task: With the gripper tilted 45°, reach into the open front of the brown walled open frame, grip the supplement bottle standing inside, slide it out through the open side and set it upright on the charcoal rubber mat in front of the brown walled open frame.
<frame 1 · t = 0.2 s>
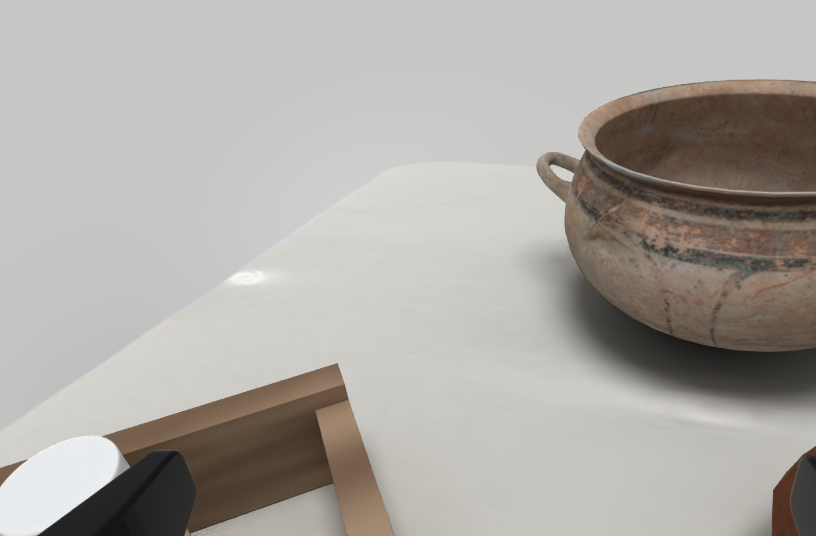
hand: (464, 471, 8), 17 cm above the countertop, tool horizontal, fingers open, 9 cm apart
cooking pot: (716, 312, 37), on the countertop
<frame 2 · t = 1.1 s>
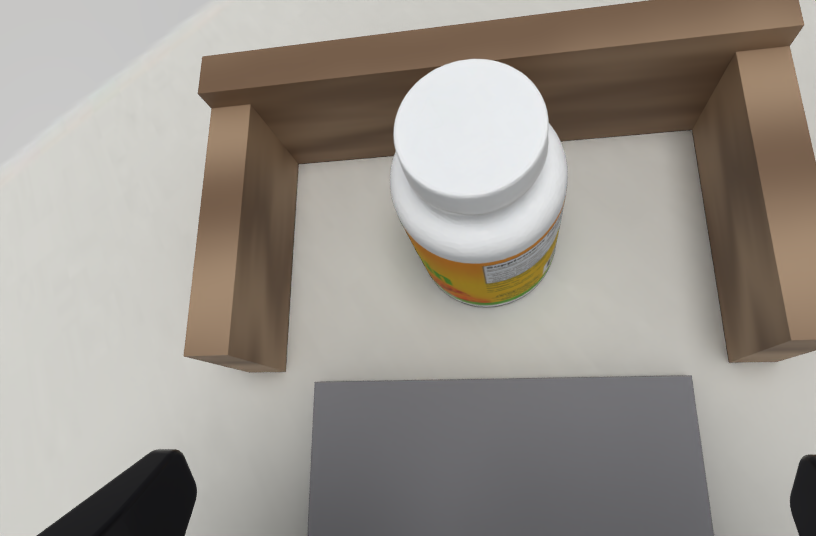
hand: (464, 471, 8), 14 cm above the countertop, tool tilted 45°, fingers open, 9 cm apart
supplement bottle: (487, 247, 24), on the countertop
brown walled open frame: (487, 245, 24), on the countertop
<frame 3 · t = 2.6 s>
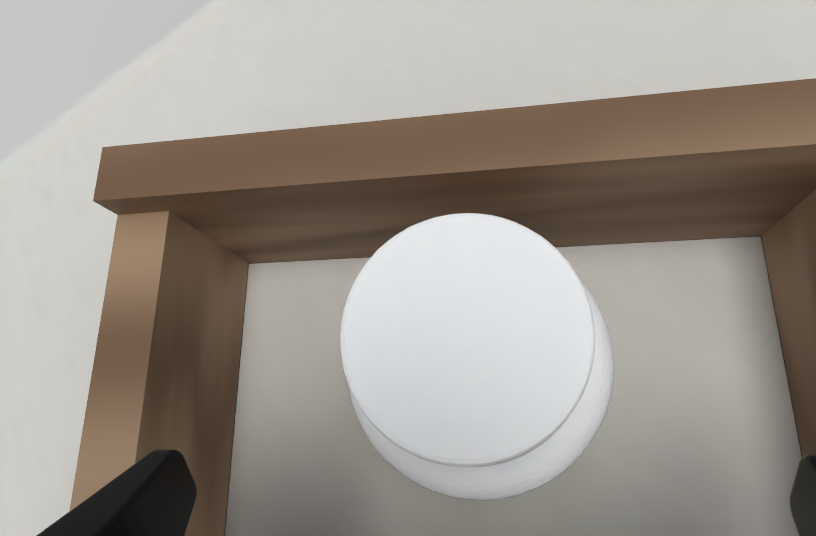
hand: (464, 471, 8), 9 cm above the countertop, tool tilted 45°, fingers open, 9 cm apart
supplement bottle: (490, 387, 18), on the countertop
brown walled open frame: (489, 387, 18), on the countertop
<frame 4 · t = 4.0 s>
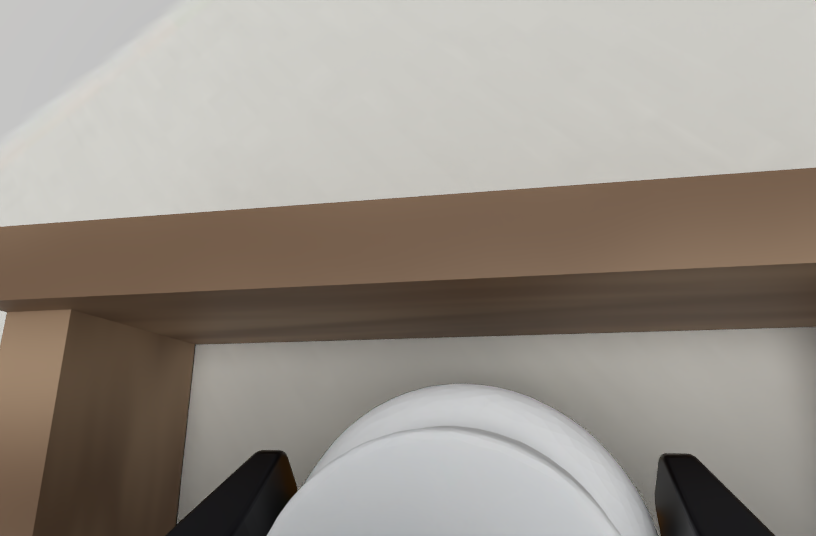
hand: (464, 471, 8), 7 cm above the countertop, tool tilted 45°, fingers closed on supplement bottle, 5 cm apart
supplement bottle: (488, 514, 14), on the countertop, touching gripper
brown walled open frame: (488, 515, 14), on the countertop
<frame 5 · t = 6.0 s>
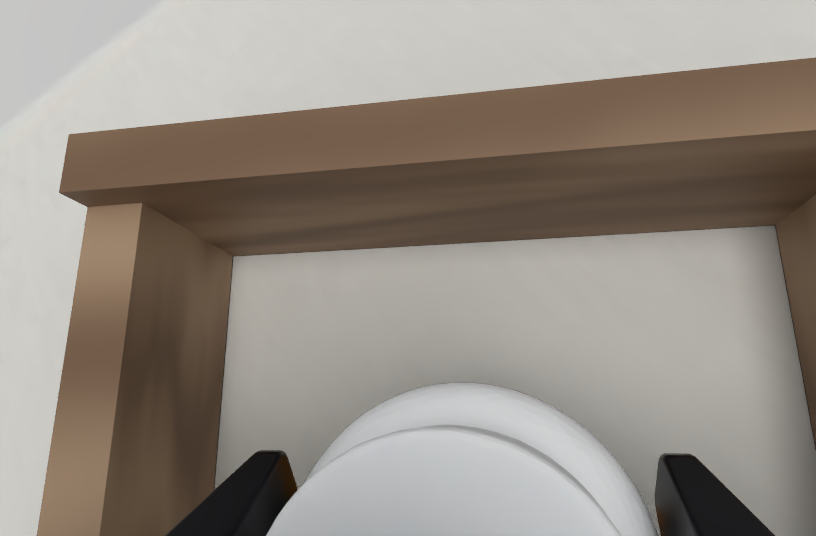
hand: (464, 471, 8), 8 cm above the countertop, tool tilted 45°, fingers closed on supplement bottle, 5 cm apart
supplement bottle: (488, 512, 14), point 2 cm above the countertop, touching gripper
brown walled open frame: (487, 386, 17), on the countertop
when the fingers open (8 cm above the countertop, at t = 8.0 s): supplement bottle stays where it is, resting on mat.
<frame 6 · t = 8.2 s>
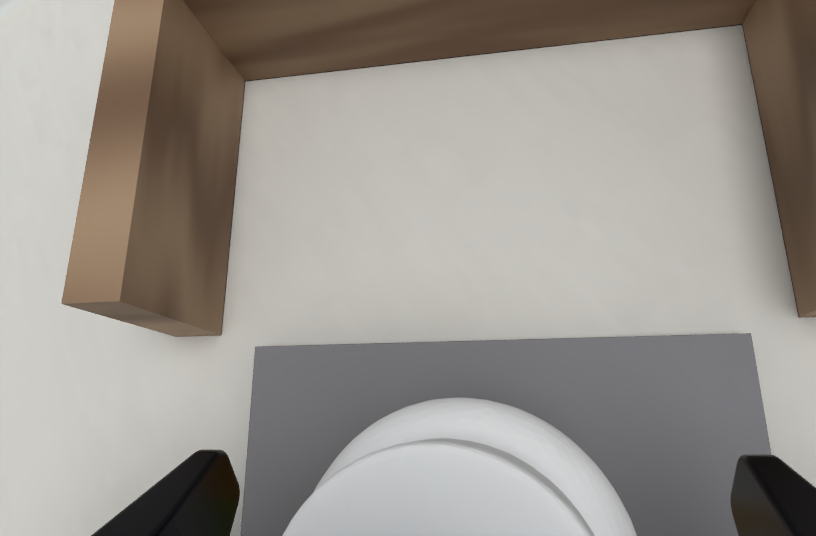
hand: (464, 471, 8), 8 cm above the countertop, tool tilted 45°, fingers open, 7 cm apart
supplement bottle: (490, 518, 15), resting on mat
brown walled open frame: (479, 173, 18), on the countertop
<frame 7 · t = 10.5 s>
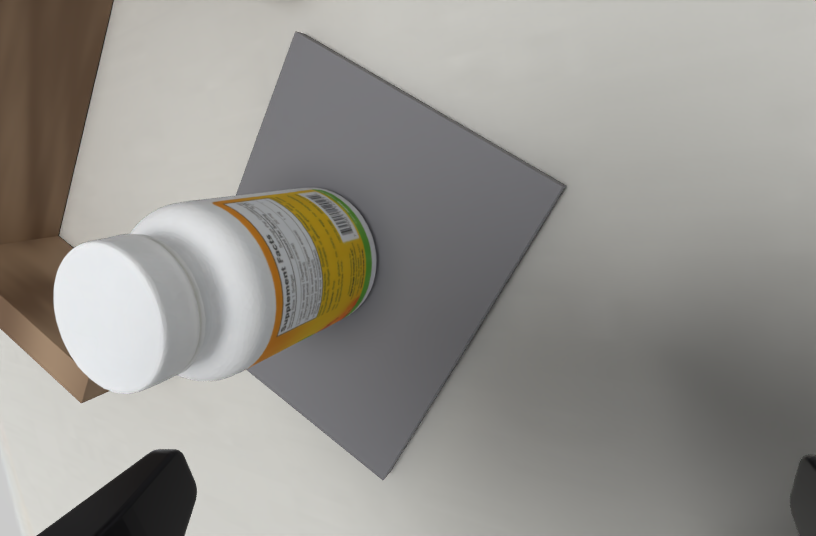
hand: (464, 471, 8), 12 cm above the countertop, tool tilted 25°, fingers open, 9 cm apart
mat: (349, 264, 23), on the countertop
supplement bottle: (323, 253, 23), resting on mat
brown walled open frame: (158, 131, 26), on the countertop
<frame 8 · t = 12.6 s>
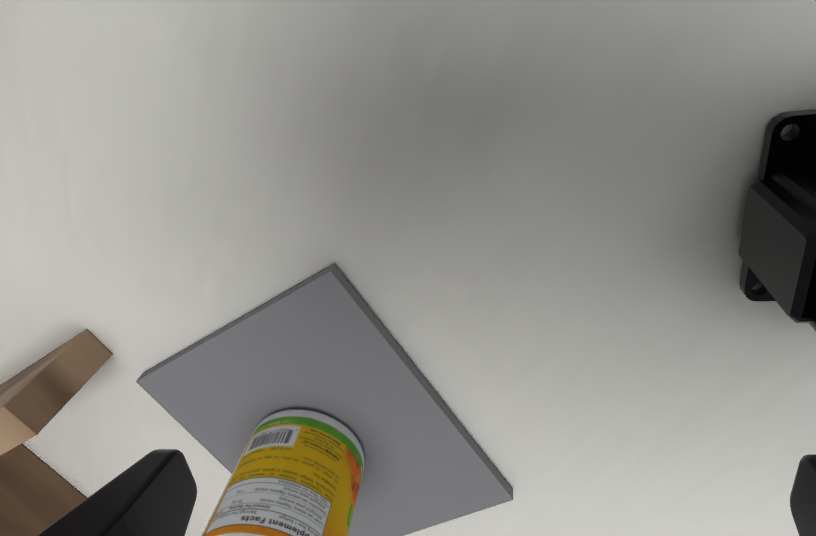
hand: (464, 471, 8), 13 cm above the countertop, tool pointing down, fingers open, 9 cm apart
mat: (329, 431, 27), on the countertop
supplement bottle: (310, 445, 27), resting on mat
brown walled open frame: (169, 500, 31), on the countertop
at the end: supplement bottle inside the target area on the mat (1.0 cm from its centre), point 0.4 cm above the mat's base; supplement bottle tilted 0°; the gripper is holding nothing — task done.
